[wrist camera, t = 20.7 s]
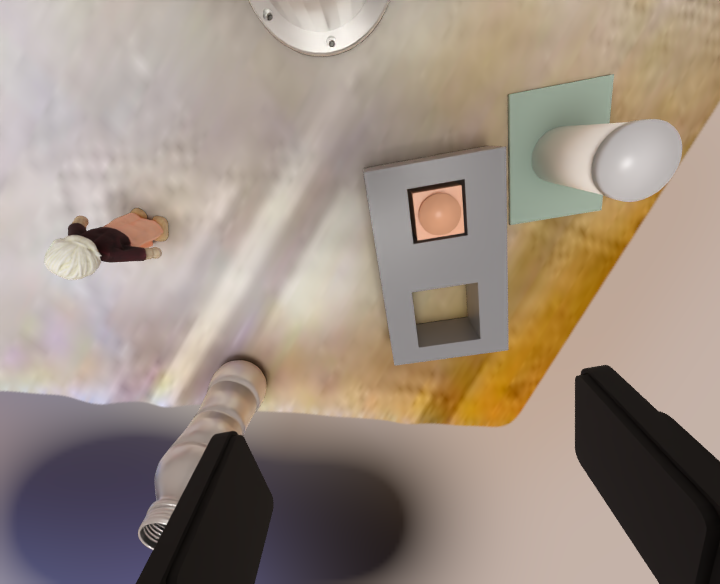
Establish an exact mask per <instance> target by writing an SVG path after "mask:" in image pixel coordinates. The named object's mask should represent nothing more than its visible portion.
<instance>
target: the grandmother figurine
mask: <svg viewBox="0 0 720 584" xmlns="http://www.w3.org/2000/svg"><path fill="white" fill-rule="evenodd" d="M87 225H88V219H87V218H86V217H84V216H77V217H76V218H75V219H74V221H73V223H72V224H71V225H69V227H68V236H67V237H65V238H64V239H61V238H60V239H56V240H54V241H53V242H52V244H51V246H50V248H49V249H48V250H47V252H46V255H45V258H44V263H45V265H46V266H47V268H48V270H49V271H50V272H52V273H54V274H56V275H58V276H60V277H62V278H65V279H67V280H77V279H82V278H84V277H86V276H89V275H91V274H93V273H94V272H95V271H96V269H97V268H98V267H99V265H100V263H101V261H104V262H127V261H144V260H146V259H151V258H159V257H160V256H161V255H162V252H161V250H160V249H159V248H157V247H153V248H149V247H151V246H153V242H152V241H153V240H155V241H165V240H167V238H168V222H167V220H166V219H165V218H163V217H161V216H155V217H153V219H152V220H148V219H147V215H146V213H145V212H144V211H143V210H141V209H139V208H135V209H133V210H132V211H131V212H130V213H129V214H126V215H124V216H121V217H119V218H116V219H114V220H113V221H111V222H110V223H109V224H107V225H105V226H104V227H100V228H96V229H91V230H88V231H86V226H87Z"/></svg>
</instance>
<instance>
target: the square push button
mask: <svg viewBox="0 0 720 584" xmlns="http://www.w3.org/2000/svg"><path fill="white" fill-rule="evenodd" d="M407 195H408V203H409V212H410V220H411V228H412V230H413V232H414V234H415V236H416V238H417V240H424V239H430V238H436V237H442V236H448V235H455V234H461V233H464V218H463V201H462V185H460V184H458V183H456V182H454V181H451V182H445V183H439V184H434V185H428V186H422V187H417V188H411V189H407Z"/></svg>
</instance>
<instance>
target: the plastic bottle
mask: <svg viewBox="0 0 720 584" xmlns="http://www.w3.org/2000/svg"><path fill="white" fill-rule="evenodd" d="M265 393H266V379H265V377H264V375H263V373H262V371H261V370H260V369H259V368H258V367H257V366H256V365H254V364H253V363H251V362H248V361H245V360H235V361H230V362H227V363H225V364H224V365H223V366H221V367H220V368H219V369H218V370H217V371H216V372H215V374H214V375H213V377H212V379H211V382H210V384H209V387H208V391H207V394H206V396H205V398H204V400H203V402H202V405H201V407H200V409H199V411H198V412H197V414H196V415H195V417H194V419H193V420H192V421H191V423H190V424H189V425H188V427H187V428H186V430H185V431H184V432H183V433H182V435H181V436H180V437H179V438H178V439H177V440H176V442H175V443H174V444H173V445H172V446H171V447H170V449H169V450H168V451H167V452H166V454H165V455H164V456H163V458H162V459H161V460H160V462H159V465H158V467H157V471H156V475H155V493H156V499H157V501H156V502H154V503H153V504H152V505H151V507H150V508H149V510H148V512H147V516H146V517H145V519H144V521H143V523H142V524H141V526H140V528H139V531H138V536H139V539H140V540H141V542H142V543H143V544H144V545H145V546H147V547H148V548H150V549H152V550H154V548H155V546H156V544H157V542H158V540H159V538H160V536H161V534H162V532H163V530H164V528H165V526H166V524H167V522H168V521H169V519H170V517H171V515H172V513H173V511H174V509H175V507H176V505H177V503H178V501H179V499H180V497H181V495H182V493H183V492H184V490H185V488H186V486H187V484H188V482H189V480H190V478H191V476H192V474H193V472H194V470H195V468H196V466H197V465H198V463H199V461H200V459H201V457H202V455H203V453H204V451H205V449H206V447H207V445H208V443H209V441H210V439H211V438H212V436H213V435H215V434H218V433H223V432H229V431H236V432H237V433H238V435H242V436H244V433H245V430H246V428H247V426H248V424H249V422H250V420H251V419H252V417H253V415H254V413H255V412H256V411H257V410H258V408H259V407H260V405H261V403H262V402H263V400H264V398H265Z"/></svg>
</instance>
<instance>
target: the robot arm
mask: <svg viewBox="0 0 720 584" xmlns="http://www.w3.org/2000/svg"><path fill="white" fill-rule="evenodd" d="M248 1H249V3H250V5H251V7H252V9H253V11H254V12H255V14H256V15H257V17H258V18H259V19H260V21H261V22H262V24H263V25H264V26H265V27H266V29H267V30H268V31H269V32H270V33H271V34H272V35H273V36H274V37H275V38H277V39H278V40H279V41H280V42H282V43H283V44H284V45H286V46H288V47H289V48H291V49H293V50H295V51H297V52H300V53H303V54H307V55H310V56H323V57H324V56H331V55H337V54H340V53H342V52H345V51H347V50H350V49H352V48H353V47H355V46H356V45H358V44H359V43H361V42H362V41H363V40H364V39H365V38H366V37H367V36H368V35H369V34H370V33H371V32H372V31H373V30H374V28H375V27H376V25H377V24H378V23H379V21H380V20H381V18H382V16H383V14H384V12H385V10H386V8H387V6H388V3H389V1H390V0H248ZM268 15H272V16H273V18H272V20H270V21H269V20H268ZM331 41H333V42H335V45H334V47H330V46H329V43H330V42H331ZM575 451H576V455H577V458H578V460H579V462H580V464H581V466H582V467H583V469H584V470H585V471H586V473H587V475H588V476H589V478H590V479H591V481H592V482H593V484H594V485H595V486H596V488H597V490H598V491H599V493H600V494H601V496H602V497H603V498H604V500H605V502H606V503H607V505H608V506H609V508H610V509H611V511H612V512H613V514H614V515H615V517H616V519H617V520H618V522H619V523H620V525H621V526H622V528H623V529H624V530H625V532H626V534H627V535H628V537H629V538H630V540H631V541H632V543H633V544H634V546H635V547H636V549H637V550H638V552H639V553H640V555H641V556H642V558H643V559H644V561H645V562H646V564H647V565H648V567H649V569H650V570H651V571H652V573H653V575H654V576H655V578H656V579H657V581H658V582H659V584H720V461H719V460H717V459H716V458H715V457H714V456H713V455H712V454H711V453H710V452H708V450H706V449H705V448H704V447H703V446H702V445H701V444H700V443H699V442H698V441H697V440H695V439H694V438H693V437H692V436H691V435H690V434H689V433H688V432H687V431H686V430H685V429H683V428H682V427H681V426H680V425H679V424H678V423H677V422H676V421H675V420H674V419H672V418H671V417H670V416H668V415H667V414H665V413H663V412H659V411H657V410H656V409H655V408H654V407H653V406H652V405H651V404H650V403H649V402H648V401H647V400H646V399H645V398H643V397H642V396H641V395H640V394H639V393H638V392H637V391H636V390H635V389H634V388H633V387H632V386H631V385H630V384H628V383H627V382H626V381H625V380H624V379H623V378H622V377H621V376H620V375H619V374H618V373H617V372H616V371H614V370H613V369H612V368H611V367H610V366H608V365H603V366H597V367H591V368H585V369H583V370H582V371H581V375H579V376H576V378H575ZM272 511H273V497H272V494H271V492H270V490H269V488H268V486H267V484H266V482H265V480H264V478H263V476H262V474H261V472H260V469H259V468H258V465H257V463H256V461H255V459H254V457H253V455H252V453H251V451H250V449H249V447H248V445H247V443H246V441H245V439H244V437H243V436H242V435H238V433H237V432H236V431H229V432H223V433H218V434H215V435H213V436H212V438H211V439H210V441H209V443H208V445H207V447H206V449H205V451H204V453H203V455H202V457H201V459H200V461H199V463H198V465H197V466H196V468H195V470H194V472H193V474H192V476H191V478H190V480H189V482H188V484H187V486H186V488H185V490H184V492H183V493H182V495H181V497H180V499H179V501H178V503H177V505H176V507H175V509H174V511H173V513H172V515H171V517H170V519H169V521H168V522H167V524H166V526H165V528H164V530H163V532H162V534H161V536H160V538H159V540H158V542H157V544H156V546H155V548H154V550H153V552H152V553H151V555H150V557H149V559H148V561H147V563H146V565H145V567H144V569H143V571H142V573H141V575H140V577H139V579H138V580H137V582H136V584H254V583H255V579H256V575H257V571H258V567H259V563H260V559H261V555H262V551H263V547H264V543H265V539H266V535H267V531H268V527H269V523H270V519H271V515H272Z"/></svg>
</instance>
